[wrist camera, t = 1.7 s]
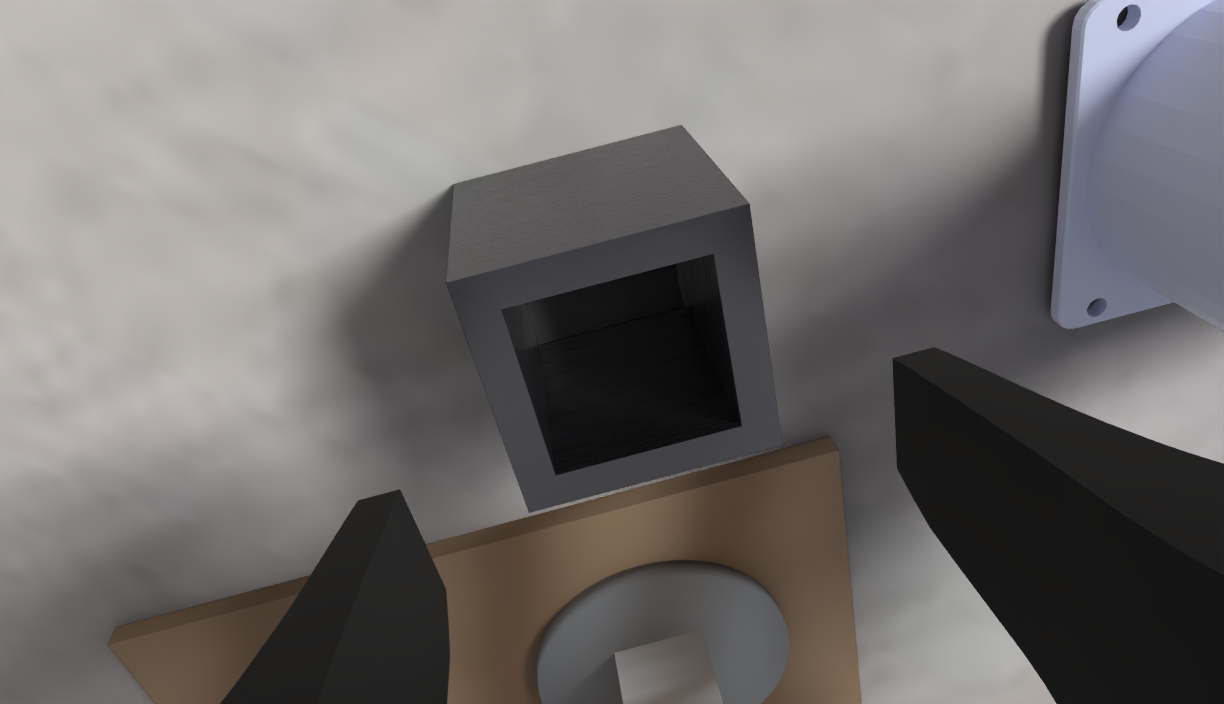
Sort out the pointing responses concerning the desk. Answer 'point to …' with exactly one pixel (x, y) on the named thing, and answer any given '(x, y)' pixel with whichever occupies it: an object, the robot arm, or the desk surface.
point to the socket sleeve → (625, 353)
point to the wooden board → (602, 600)
